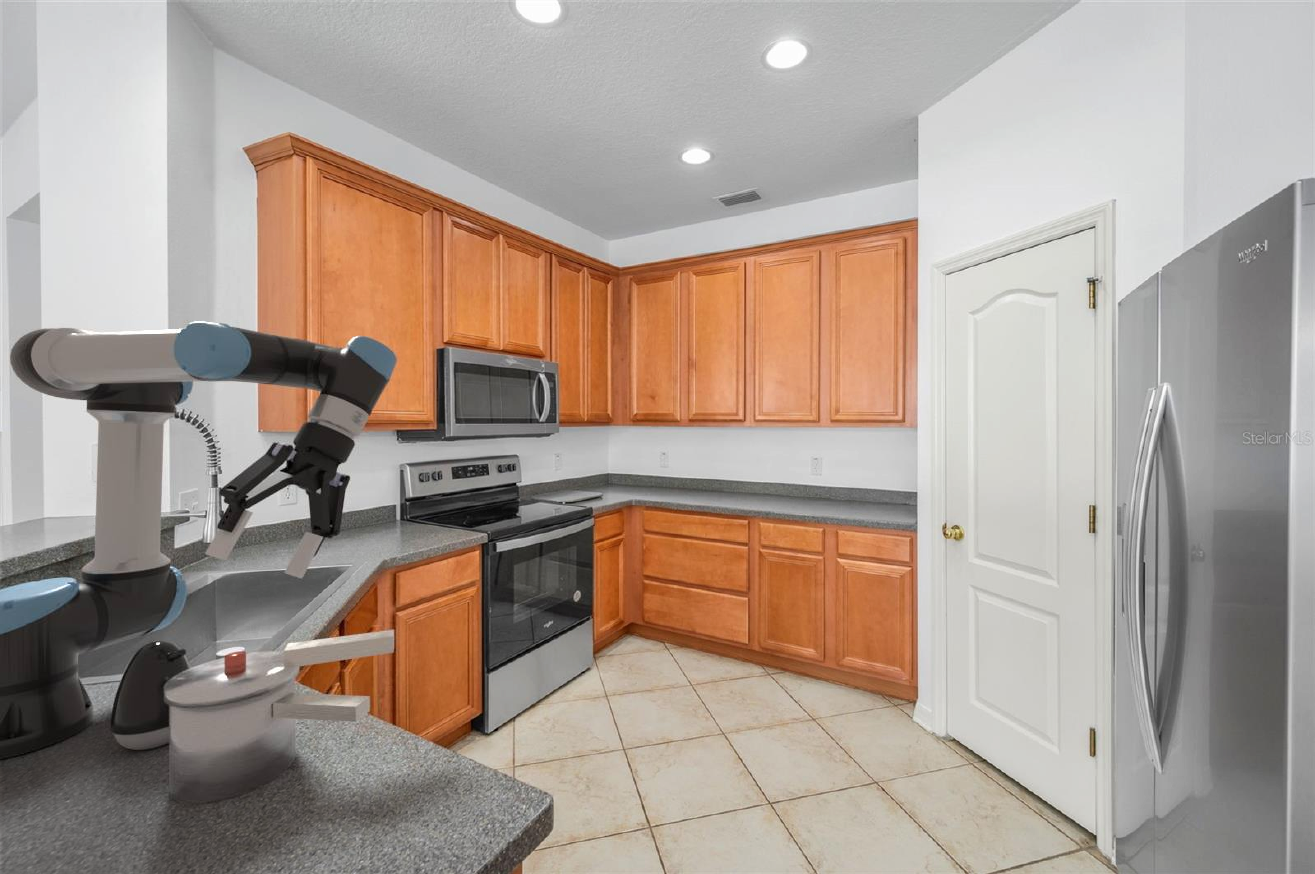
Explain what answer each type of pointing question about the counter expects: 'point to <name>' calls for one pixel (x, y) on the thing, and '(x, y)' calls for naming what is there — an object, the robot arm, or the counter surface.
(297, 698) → the cooker pot
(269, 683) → the lid
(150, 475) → the robot arm
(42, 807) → the counter surface
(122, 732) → the pump dispenser
